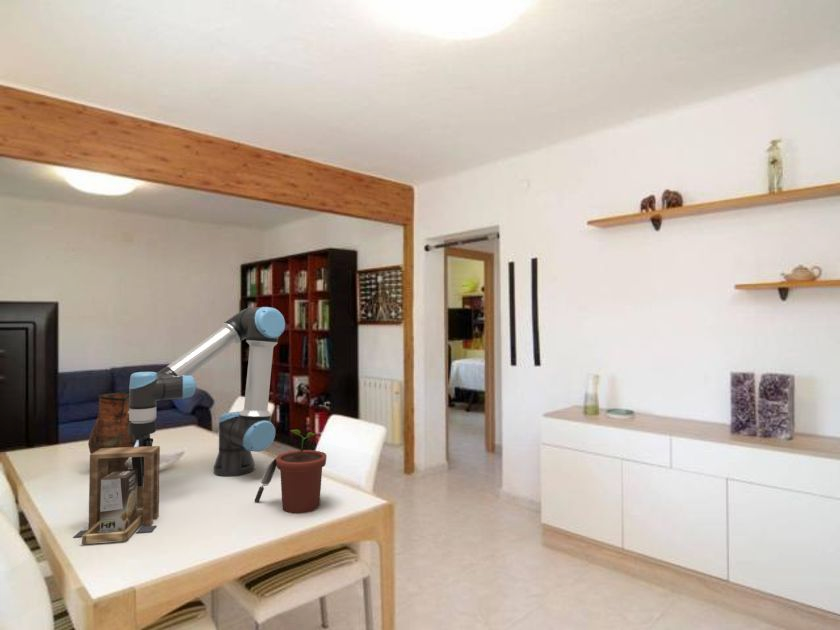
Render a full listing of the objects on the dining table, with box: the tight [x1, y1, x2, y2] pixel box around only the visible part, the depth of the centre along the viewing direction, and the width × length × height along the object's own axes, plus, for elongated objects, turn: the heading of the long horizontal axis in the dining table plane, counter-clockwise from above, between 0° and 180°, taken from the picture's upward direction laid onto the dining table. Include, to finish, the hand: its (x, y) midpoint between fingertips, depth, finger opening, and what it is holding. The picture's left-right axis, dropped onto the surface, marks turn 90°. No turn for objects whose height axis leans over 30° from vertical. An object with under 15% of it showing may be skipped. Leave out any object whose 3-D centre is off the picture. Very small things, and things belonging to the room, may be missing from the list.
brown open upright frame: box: [88, 445, 161, 530], centre depth 141 cm, size 16×7×21 cm, turn 101°
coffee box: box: [99, 468, 138, 533], centre depth 136 cm, size 9×6×16 cm
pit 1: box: [72, 529, 89, 539], centre depth 134 cm, size 4×4×1 cm
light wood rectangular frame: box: [81, 487, 144, 544], centre depth 141 cm, size 11×26×6 cm, turn 11°
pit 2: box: [135, 525, 158, 534], centre depth 137 cm, size 4×4×1 cm
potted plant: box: [254, 429, 327, 515], centre depth 157 cm, size 18×22×25 cm
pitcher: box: [88, 392, 135, 474], centre depth 193 cm, size 17×21×30 cm
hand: (141, 495), depth 154 cm, fingers closed
